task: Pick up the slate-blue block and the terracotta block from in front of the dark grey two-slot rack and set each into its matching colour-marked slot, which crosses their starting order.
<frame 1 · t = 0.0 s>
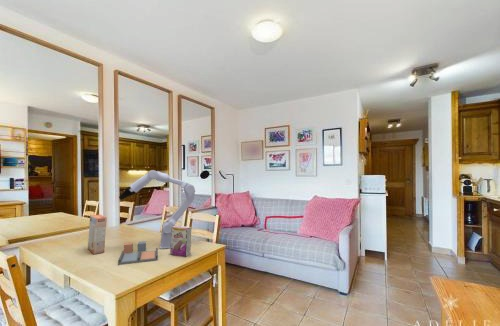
hand: (121, 197, 137), 32 cm above the table, tool tilted 50°, fingers open, 7 cm apart
terracotta block: (128, 251, 135), on the table
slate-blue block: (141, 250, 138), on the table
cracker box: (96, 251, 135), on the table
candy bar box: (180, 255, 132), on the table
slot rack: (139, 257, 125), on the table
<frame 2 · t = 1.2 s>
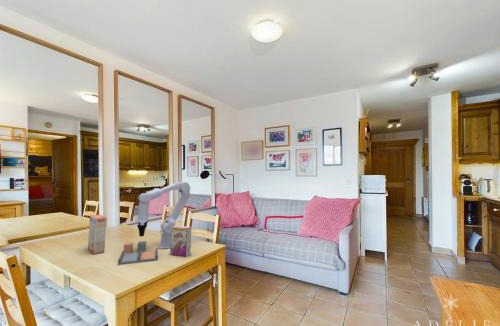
hand: (142, 234, 138), 10 cm above the table, tool pointing down, fingers open, 7 cm apart
nothing on the table moved.
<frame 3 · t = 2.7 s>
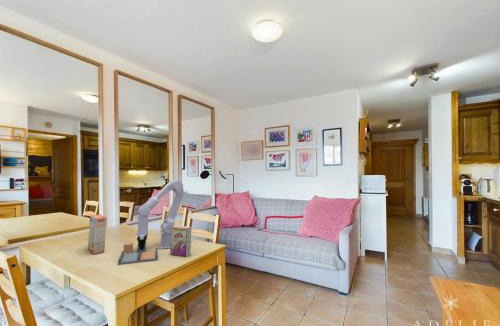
hand: (141, 248, 138), 1 cm above the table, tool pointing down, fingers closed on slate-blue block, 4 cm apart
slate-blue block: (141, 250, 138), on the table, touching gripper
everything else where it was.
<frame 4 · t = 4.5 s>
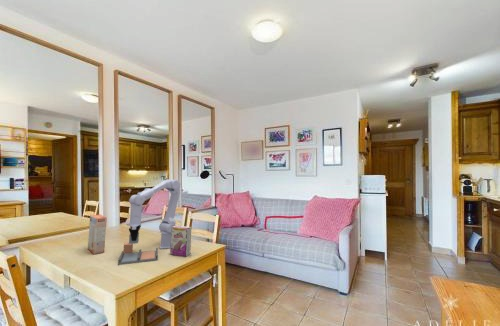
hand: (134, 239, 128), 10 cm above the table, tool pointing down, fingers closed on slate-blue block, 4 cm apart
slate-blue block: (133, 242, 128), point 8 cm above the table, touching gripper
everything else where it was.
when the fingers open (4 cm above the table, at t = 6.4 s): slate-blue block stays where it is, resting on slot rack.
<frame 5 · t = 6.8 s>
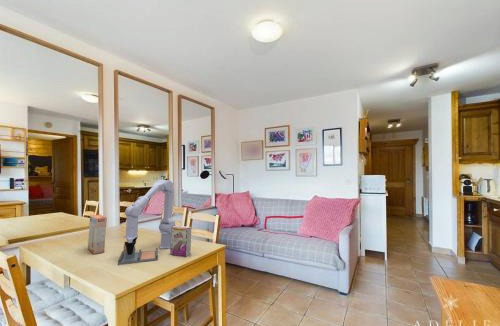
hand: (130, 252, 124), 4 cm above the table, tool pointing down, fingers open, 7 cm apart
slate-blue block: (130, 256, 124), point 1 cm above the table, touching slot rack
everything else where it was.
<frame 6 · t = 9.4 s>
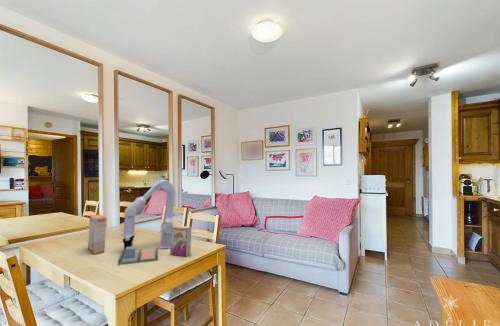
hand: (128, 249, 135), 1 cm above the table, tool pointing down, fingers closed on terracotta block, 4 cm apart
terracotta block: (128, 251, 135), on the table, touching gripper
everything else where it was.
when the fingers open (4 cm above the table, at t = 13.3 s): terracotta block stays where it is, resting on slot rack.
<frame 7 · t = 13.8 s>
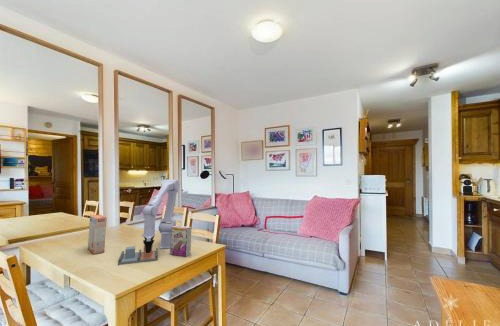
hand: (148, 250, 127), 4 cm above the table, tool pointing down, fingers open, 7 cm apart
terracotta block: (147, 255, 127), point 1 cm above the table, touching slot rack
everything else where it was.
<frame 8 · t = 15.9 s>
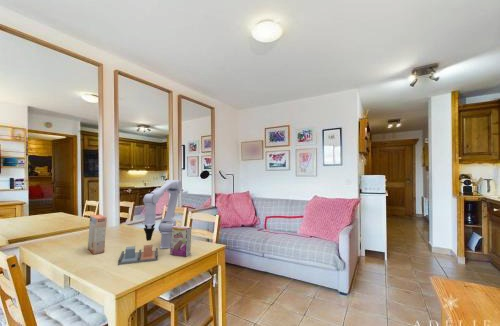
hand: (149, 238, 128), 10 cm above the table, tool pointing down, fingers open, 7 cm apart
nothing on the table moved.
at the end: slate-blue block 0.2 cm from the target spot on the slot rack, point 1.1 cm above the slot rack's base; terracotta block 0.3 cm from the target spot on the slot rack, point 1.1 cm above the slot rack's base; terracotta block tilted 0° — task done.
